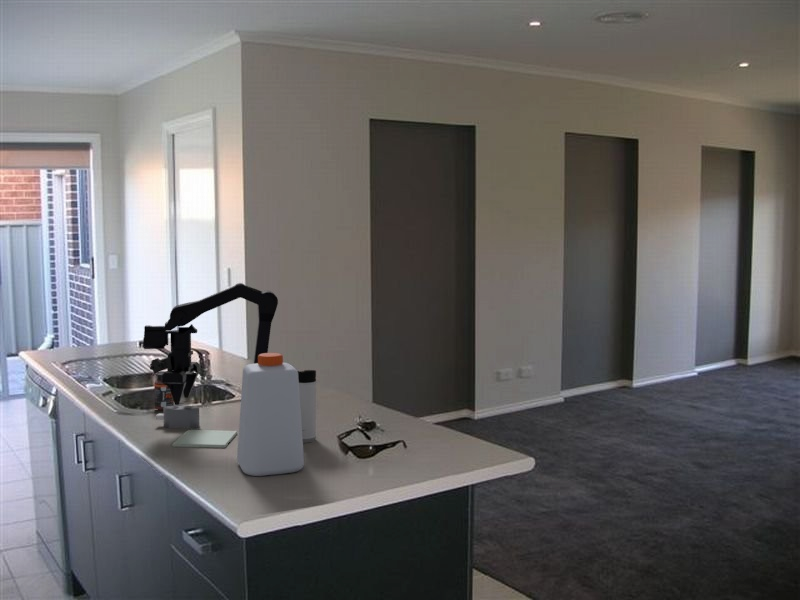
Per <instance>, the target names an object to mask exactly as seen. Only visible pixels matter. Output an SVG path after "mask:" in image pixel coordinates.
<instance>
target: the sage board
mask: <svg viewBox="0 0 800 600" xmlns="http://www.w3.org/2000/svg"><path fill="white" fill-rule="evenodd" d="M237 435H238V431H237V430H213V429H211V430H210V429H209V430H208V429H188V430H186V431H185V432H184V433H183V434H182V435H181V436H179V438H177V439H176V440H175V441H174V442H173V443H172V447H174V448H176V447H177V448H213V449H214V448H219V449H224V448H226V447H227V446H228V443H229V442H230V443H231V441H232V440H233V439H234V438H235V437H236V436H237ZM230 443H229V444H230Z"/></svg>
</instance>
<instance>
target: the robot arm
mask: <svg viewBox="0 0 800 600" xmlns="http://www.w3.org/2000/svg"><path fill="white" fill-rule="evenodd" d="M237 299H244V300H246V301H248V302H251V303H254V304H256V305H257V318H258V324H257V331H256V340H255V349H254V355H253V356H254V357H253V363H252V364H255V363H258V355H259V354H263V353H269V343H270V335H271V329H272V323H273V320H274V317H275V314H276V311H277V308H278V304H279V300H278V297H277V296H276V294H275V293H274V292H273V291H271V290H267V289H266V290H260V289H257V288H254V287H251V286H248V285H245V284H244V283H243V282H238V283H236V284H235V285H234V286H230V287H228V288H226V289H223V290H221V291H219V292H217V293H214V294H210V295H209V296H206V297H204V298H202V299H199V300H194V301H190V302H189V301H188V302H185V303H180V304H177V305H175V306H173V308H172V309H171V311H170V314H169V318H168V321H165V323H164V325H145V326H143V330H144V331H143V339H142V340H143V341H142V342H143V343H142V345H143V350H161V349H162V350H164V349H165V347H167V346H169V335H170V351H169V352H168V353H167V356H166V357H164V358H161V359H160V358H159V357H158V358H155V359H152V360H151V361H150V364H149V366H150V367H149V369H150V371H152V373H153V375H157V374H158V373H161V372H162V373H163V374H162V375H161V382H162V383H163V384H164V385H166V386H168V387H169V388H170V391H171V394H172V397H173V400H174V406H180V403H181V400H182V396H184V398H186V399H187V398H190V394H191V392H192V389H193V387H194V384H195V383H196V381H197V378H198V376H199V374H200V373H199V372H201V364H200V363H199V362H197V361H192V355H194V350H192V334H197V333H198V329H197V328H196V327H194V324H191V323H192V322H193V321H194V320H195V319H197V318H198V317H200V316H202V315H203V314H204V313H207V312H209V311H211V310H214V309H216V308H219V307H221V306H223V305H226V304H228V303H230V302H233V301H235V300H237ZM189 323H190V325H189V326H187V325H188V324H189ZM177 327H178V329H176V330H175V328H177ZM165 370H167V371H165ZM163 371H165V372H163Z"/></svg>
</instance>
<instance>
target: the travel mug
mask: <svg viewBox="0 0 800 600" xmlns="http://www.w3.org/2000/svg"><path fill="white" fill-rule="evenodd" d="M297 371H298V379H299V394H300V409H301V424H302V439H303V444H309V443H313V442H315V441H316V440H317V371H316V370H315V369H307V370H306V369H305V370H301V371H299V370H297Z"/></svg>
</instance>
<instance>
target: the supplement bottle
mask: <svg viewBox="0 0 800 600" xmlns="http://www.w3.org/2000/svg"><path fill="white" fill-rule="evenodd" d="M163 373H164V372H158V373H156V375H157V379H156V380H155V381H154V384H153V385H154V387H153V388H154V401H153V402H154V409H156V410H157V411H158V410H159V411H163V408H164V407H166V406H175V403H174V400H173V397H172V394H171V391H170V388H169V387H168V386H166V385H164V384H163V383H162V382H161V375H162V374H163Z"/></svg>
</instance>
